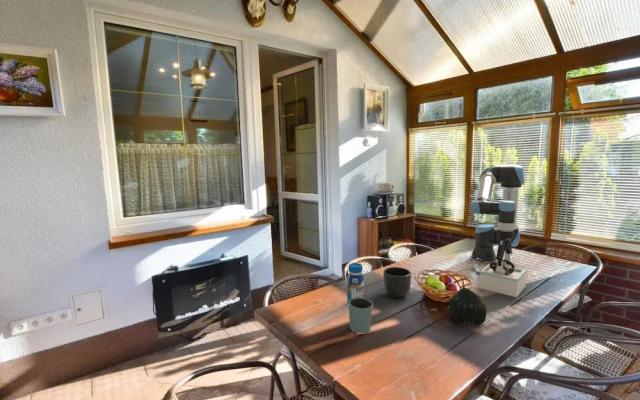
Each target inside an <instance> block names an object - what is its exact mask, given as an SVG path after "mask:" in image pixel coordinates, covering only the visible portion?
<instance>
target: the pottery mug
mask: <svg viewBox="0 0 640 400" xmlns="http://www.w3.org/2000/svg"><path fill="white" fill-rule="evenodd" d="M504 262H506V264H509V265H510V267H512V268H509V270H507V267H506V266H507V265H504ZM488 264H489V263H488ZM493 265H495V266H494V267H493ZM489 266H490V268H491V269H493V271H496V269H497V262H496V261H490V264H489ZM514 268H516V267H515V264H514V263H513V262H512V261H511V260H510V261H508V260H504V258H503V269H504V270H505V271H506V273H505V275H506V276H508V275H509V274H512V273H513V272H514Z"/></svg>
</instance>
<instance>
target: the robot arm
mask: <svg viewBox="0 0 640 400" xmlns="http://www.w3.org/2000/svg"><path fill="white" fill-rule="evenodd" d="M524 172H525V171H524V167H523V166H522V165H516V164H513V165H512V164H509V165H508V164H507V165H505V164H504V165H501V164H500V165H492V166H489V167H488V168H486V169H484V170H483V171H482V172H481V173H480V175H479V178H478V182H479V186H478V191H477V196H476V198H475V199H476V200H472V201H470V212H471V213H472V214H475V215H476V214H477V215H489V216H490V215H491V216H498V219H497V220H498V221H497V223H496V225H497V227H496V226H495V225H494V224H490V223H489V224H488V223H487V224H486V223H485V224H479V225H477V226H476V227H475V231H474V233H475V235H474V239H475V240H474V247H473V249H472V251H471V258H473V259H474V258H479V259H482V260H489V261H488V262H494V261H495V260H496V261H497V262H496V263H497V271H498V272H503V264H504V265H505V266H510V267H511V265H509V264H506V262H503V259H504V260H508V261H510V262H511V254H512V255H513V249H512V247H517V246H519V243H520V238H521V234H522V233H521V232H522V230H521V229H520V227H519V225H518V224H517V219H518V218H517V216H518V215H517V214H518V202H519V189H520V188H522V186H523V185H524V184H525V173H524ZM495 184H500V188H502V200H500V201H491V200H492V194H493V187H494V185H495ZM495 245H497V250H496V253H495V248H494V246H495ZM482 260H481V261H482Z"/></svg>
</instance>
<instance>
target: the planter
mask: <svg viewBox="0 0 640 400" xmlns="http://www.w3.org/2000/svg"><path fill="white" fill-rule="evenodd" d="M411 282H412V272H411V271H410V269H408V268H404V267H399V266H393V267H392V266H391V267H387V268H386V267H385V269H383V287H384V290H385V292H386V293H387V294H388V296H389V295H390V296H389V297H391V298H392V297H393V299H398V298H399V299H403V298H405V297H406V296H407V295H408V294H409V292H410V290H411V285H412V283H411Z"/></svg>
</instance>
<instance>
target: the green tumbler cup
mask: <svg viewBox="0 0 640 400" xmlns="http://www.w3.org/2000/svg"><path fill="white" fill-rule="evenodd" d="M348 303H349V305H348V319H349V330H350V329H351V330H352V331H353V332H356V333H367V332H369V331H371V324H372V315H373V313H372V312H373V306H374V304H373V301H372V300H370V299H368V298H366V297H364V298H361V297H357V298H352V299H350V300H349V302H348ZM348 303H347V304H348ZM351 330H350V331H351ZM353 332H352V333H353ZM369 333H370V332H369ZM367 334H368V333H367Z"/></svg>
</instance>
